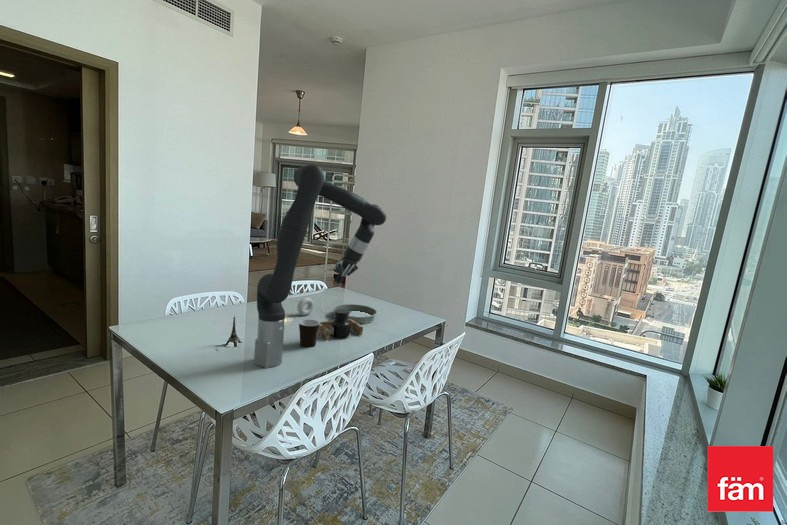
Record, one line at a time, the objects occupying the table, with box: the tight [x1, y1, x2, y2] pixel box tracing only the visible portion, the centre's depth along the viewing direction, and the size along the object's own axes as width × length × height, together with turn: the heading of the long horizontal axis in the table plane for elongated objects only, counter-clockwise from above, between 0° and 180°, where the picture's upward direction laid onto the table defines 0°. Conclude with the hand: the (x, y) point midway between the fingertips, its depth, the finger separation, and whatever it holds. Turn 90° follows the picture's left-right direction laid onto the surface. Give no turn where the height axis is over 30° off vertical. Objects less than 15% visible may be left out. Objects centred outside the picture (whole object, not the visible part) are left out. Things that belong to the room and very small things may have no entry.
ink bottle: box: [330, 309, 351, 340], centre depth 174 cm, size 10×9×12 cm
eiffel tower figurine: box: [225, 314, 243, 348], centre depth 152 cm, size 15×10×13 cm
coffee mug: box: [298, 318, 321, 349], centre depth 161 cm, size 12×9×10 cm
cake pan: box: [332, 303, 378, 324], centre depth 205 cm, size 25×25×4 cm
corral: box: [318, 319, 364, 341], centre depth 178 cm, size 12×18×4 cm, turn 125°
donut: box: [296, 297, 315, 317], centre depth 199 cm, size 10×4×10 cm, turn 139°
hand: (337, 282), depth 162 cm, fingers closed
